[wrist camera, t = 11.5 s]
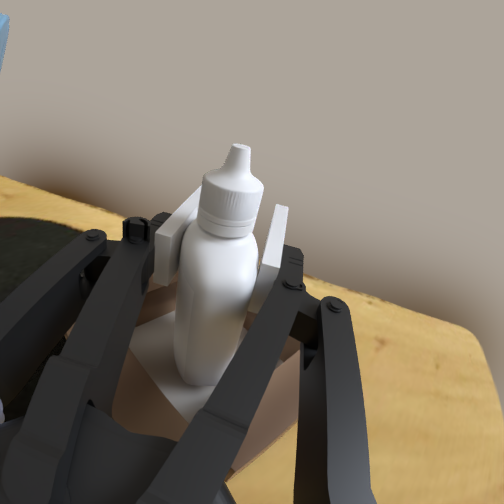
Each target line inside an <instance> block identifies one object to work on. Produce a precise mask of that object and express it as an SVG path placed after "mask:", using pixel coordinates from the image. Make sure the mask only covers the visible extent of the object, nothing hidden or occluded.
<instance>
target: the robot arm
mask: <svg viewBox="0 0 504 504" xmlns="http://www.w3.org/2000/svg"><path fill="white" fill-rule="evenodd" d="M8 32H9V16H8V15H3V14H2V13H0V71H1V66H2V62H3V57H4V52H5V48H6V42H7V38H8ZM201 187H202V185H201V186H200V187H199V188H198V189H197V190H196V191H195V192H194V193H193V194H192V195H191V196H190V197H189V198H188V199H187V200H186V201H185V202H184V203H183V204H182V205H181V206H180V207H179V208H178V209H177V210H176V211H175V212H174V213H173V214H170V213H165V212H162V213H160V214H157V215H156V216H155V217H154V218H152V220H151V221H149V220H147V219H145V218H142V217H130V218H127V219H125V220H124V221H123V238H122V240H121V241H114V240H107V235H106V233H105V232H104V231H102V230H98V229H91V230H87V231H85V232H83V233H82V234H81V235H79V236H78V237H77V238H75V239H74V240H73V241H71V242H70V243H69V244H68V245H66V246H65V247H64V248H63V249H61V250H60V251H59V252H58V253H56V254H55V255H54V256H53V257H52V258H50V259H49V260H48V261H47V262H46V263H44V264H43V265H42V266H41V267H40V268H39V269H37V270H36V271H35V272H34V273H33V274H32V275H30V276H29V277H28V278H27V279H26V280H25V281H24V282H23V283H21V284H20V285H19V286H18V287H17V288H16V289H15V290H14V291H13V292H12V293H11V294H10V295H9V296H7V297H6V298H5V299H4V300H3V301H2V302H1V303H0V504H236V502H235V500H234V498H233V497H232V495H231V493H230V491H229V489H228V487H227V485H226V484H225V482H224V480H225V478H226V476H227V474H228V472H229V470H230V468H231V466H232V464H233V462H234V460H235V458H236V456H237V454H238V452H239V449H240V447H241V445H242V443H243V441H244V439H245V437H246V435H247V432H248V429H249V426H250V424H251V422H252V420H253V417H254V415H255V413H256V411H257V409H258V406H259V404H260V402H261V400H262V397H263V395H264V393H265V391H266V388H267V386H268V384H269V381H270V379H271V377H272V374H273V372H274V370H275V367H276V365H277V362H278V360H279V358H280V355H281V353H282V350H283V348H284V345H285V343H286V340H287V338H288V335H289V336H290V337H292V338H294V339H296V340H298V341H300V376H299V409H298V432H297V450H296V466H295V480H294V501H293V503H294V504H377V503H376V500H375V498H374V495H373V493H372V490H371V485H370V465H369V450H368V438H367V427H366V417H365V408H364V399H363V391H362V384H361V376H360V369H359V363H358V356H357V350H356V344H355V338H354V332H353V326H352V321H351V315H350V310H349V308H348V306H347V304H346V303H345V302H344V301H342V300H341V299H339V298H336V297H332V296H327V297H324V298H323V299H322V300H321V301H320V300H318V299H316V298H314V297H313V296H311V295H310V294H308V293H307V292H306V286H305V284H304V283H303V258H304V255H303V253H302V252H301V250H300V249H299V248H295V247H291V246H288V245H284V237H285V230H286V223H287V215H288V207H286V206H282V205H278V204H276V207H275V211H274V214H273V218H272V221H271V225H270V228H269V232H268V235H267V238H266V242H265V246H264V250H263V254H262V257H261V261H260V265H259V269H258V273H257V278H256V282H255V286H254V290H253V293H252V297H251V300H250V304H249V307H248V311H250V312H253V313H257V316H256V318H255V319H254V321H253V323H252V325H251V326H250V328H249V330H248V332H247V333H246V335H245V337H244V339H243V341H242V342H241V344H240V346H239V347H238V349H237V351H236V353H235V354H234V356H233V358H232V360H231V361H230V363H229V365H228V366H227V368H226V370H225V372H224V373H223V375H222V377H221V378H220V380H219V382H218V383H217V385H216V387H215V389H214V390H213V392H212V394H211V395H210V397H209V399H208V400H207V402H206V404H205V405H204V406H203V408H201V409H199V410H198V412H197V413H196V414H195V416H194V417H193V419H192V421H191V422H190V424H189V425H188V427H187V429H186V430H185V432H184V433H183V435H182V437H181V438H180V440H179V441H178V442H177V441H174V440H171V439H168V438H165V437H159V436H151V435H144V434H138V433H132V432H130V431H128V430H126V429H125V428H124V427H122V426H121V425H120V424H118V423H117V422H116V421H115V420H113V419H112V404H113V400H114V396H115V392H116V389H117V385H118V381H119V378H120V374H121V371H122V367H123V364H124V361H125V357H126V354H127V351H128V347H129V344H130V341H131V338H132V335H133V332H134V329H135V325H136V322H137V319H138V316H139V313H140V311H141V308H142V305H143V302H144V299H145V296H146V293H147V291H148V288H149V278H150V277H151V275H152V274H153V282H155V283H158V284H161V285H164V286H167V287H168V285H169V284H170V282H171V280H172V279H173V277H174V276H175V274H176V273H177V271H178V269H179V262H180V252H181V245H182V240H183V236H184V234H185V231H186V229H187V228H188V226H189V225H190V223H191V222H192V221H193V220H194V219H195V218H197V212H198V206H199V200H200V193H201ZM83 269H84V272H83V273H82V274H81V275H80V273H81V271H82V270H83ZM74 323H75V324H74ZM73 324H74V326H73V328H72V330H71V332H70V334H69V336H68V339H67V341H66V343H65V345H64V347H63V349H62V352H61V353H60V355H58V356H55V355H53V356H51V357H50V358H49V359H48V361H47V363H46V365H45V367H44V370H43V372H42V374H41V377H40V379H39V381H38V384H37V386H36V389H35V391H34V394H33V396H32V399H31V401H30V404H29V407H28V409H27V412H26V415H24V416H21V417H18V418H16V419H13V420H10V421H7V422H4V420H5V416H4V413H3V408H5V407H6V406H7V405H8V404H9V403H10V402H11V401H12V400H13V399H14V398H15V397H16V396H17V395H18V394H19V392H20V391H21V390H22V389H23V387H24V386H25V385H26V383H27V382H28V381H29V379H30V378H31V377H32V375H33V374H34V373H35V371H36V370H37V369H38V367H39V366H40V365H41V363H42V362H43V361H44V360H45V358H46V357H47V356H48V355H49V353H50V352H51V351H52V350H53V348H54V347H55V346H56V345H57V343H58V342H59V341H60V340H61V338H62V337H63V336H64V335H65V334H66V332H67V331H68V330H69V329H70V328H71V326H72V325H73ZM3 422H4V423H3Z"/></svg>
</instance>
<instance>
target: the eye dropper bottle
mask: <svg viewBox="0 0 504 504" xmlns="http://www.w3.org/2000/svg"><path fill="white" fill-rule="evenodd" d="M250 152H251V148H250V147H248V146H246V145H242V144H233V145H232V147H231V149H230V152H229V154H228V156H227V159H226V161H225V163H224V165H223V166H222V167H221V168H220V169H216V170H212V171H209V172H207V173H206V174H205V175H204V176H203V181H202V187H201V193H200V200H199V206H198V212H197V218H195V219H194V220H193V221H192V222H191V223H190V225H189V226H188V228H187V229H186V231H185V234H184V236H183V240H182V245H181V252H180V262H179V271H178V282H177V294H176V307H175V322H174V340H173V350H174V358H175V362H176V366H177V368H178V371H179V373H180V375H181V377H182V379H183V380H184V381H185V382H186V383H187V384H190V385H195V386H216V385H217V383H218V382H219V380H220V378H221V377H222V375H223V373H224V372H225V370H226V368H227V366H228V365H229V363H230V361H231V360H232V358H233V356H234V353H235V350H236V347H237V344H238V340H239V337H240V334H241V331H242V327H243V324H244V321H245V317H246V314H247V311H248V307H249V304H250V300H251V297H252V293H253V290H254V286H255V282H256V278H257V273H258V265H259V257H258V249H257V244H256V240H255V238H254V235H253V234H252V231H253V229H254V225H255V221H256V217H257V213H258V209H259V205H260V202H261V197H262V194H263V190H264V186H263V184H262V183H261V182H260V181H259V180H258V179H257V178H255V177H253V176H252V174H251V172H250Z"/></svg>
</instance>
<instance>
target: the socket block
mask: <svg viewBox="0 0 504 504" xmlns="http://www.w3.org/2000/svg"><path fill="white" fill-rule="evenodd" d="M178 271H179V269H178ZM178 271H177V273H176V274H175V276H174V277H173V279H172V280H171V282H170V284H169V285H168V287H167V286H164V285H161V284H158V283H155V282H153V274H152V275H151V277H150V278H149V288H148V291H147V293H146V296H145V299H144V302H143V305H142V308H141V311H140V313H139V316H138V319H137V322H136V325H135V329H134V332H133V335H132V338H131V341H130V344H129V347H128V351H127V354H126V357H125V361H124V364H123V367H122V371H121V374H120V378H119V381H118V385H117V389H116V392H115V396H114V400H113V404H112V419H113V420H115V421H116V422H117V423H118V424H120V425H121V426H122V427H124V428H125V429H126V430H128V431H130V432H132V433H138V434H144V435H151V436H159V437H165V438H168V439H171V440H174V441H177V442H178V441H179V440H180V438H181V437H182V435H183V433H184V432H185V430H186V429H187V427H188V425H189V424H190V422H191V421H192V419H193V417H194V416H195V414H196V413H197V412H198V410H199V409H201V408H203V406H204V405H205V404H206V402H207V400H208V399H209V397H210V395H211V394H212V392H213V390H214V389H215V387H216V386H195V385H190V384H187V383H186V382H185V381H184V380H183V379H182V377H181V375H180V373H179V371H178V368H177V366H176V362H175V358H174V350H173V340H174V322H175V307H176V294H177V282H178ZM256 316H257V313H253V312H250V311H247V314H246V317H245V321H244V324H243V327H242V331H241V334H240V337H239V340H238V344H237V347H236V350H235V353H236V351H237V349H238V347H239V346H240V344H241V342H242V341H243V339H244V337H245V335H246V333H247V332H248V330H249V328H250V326H251V325H252V323H253V321H254V319H255V318H256ZM74 324H75V323H74ZM74 324H73V325H72V326H71V328H70V329H69V330H68V331H67V332H66V334H65V335H64V336H65V338H66V340H67V339H68V336H69V334H70V332H71V330H72V328H73V326H74ZM235 353H234V354H235ZM299 376H300V341H298V340H296V339H294V338H292V337H290V336H289V335H288V338H287V340H286V343H285V345H284V348H283V350H282V353H281V355H280V358H279V360H278V362H277V365H276V367H275V370H274V372H273V374H272V377H271V379H270V381H269V384H268V386H267V388H266V391H265V393H264V395H263V397H262V400H261V402H260V404H259V406H258V409H257V411H256V413H255V415H254V417H253V420H252V422H251V424H250V426H249V429H248V432H247V435H246V437H245V439H244V441H243V443H242V445H241V447H240V449H239V452H238V454H237V456H236V458H235V460H234V462H233V464H232V466H231V468H230V470H229V472H228V474H227V476H226V478H225V480H224V481H225V482H227V481H229V480H230V479H231V478H233V477H234V476H235V475H237V474H238V473H239V472H240V471H242V470H243V469H244V468H245V467H247V466H248V465H249V464H250V463H252V462H253V461H254V460H255V459H256V458H258V457H259V456H260V455H261V454H262V453H263V452H265V451H266V450H267V449H268V448H269V447H270V446H271V445H273V444H274V443H275V442H276V441H277V440H278V439H279V438H280V437H281V436H283V435H284V434H285V433H286V432H287V431H288V430H289V429H290V428H291V427H292V426H293V425H294V424H295V423H296V422H297V421H298V409H299Z"/></svg>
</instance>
